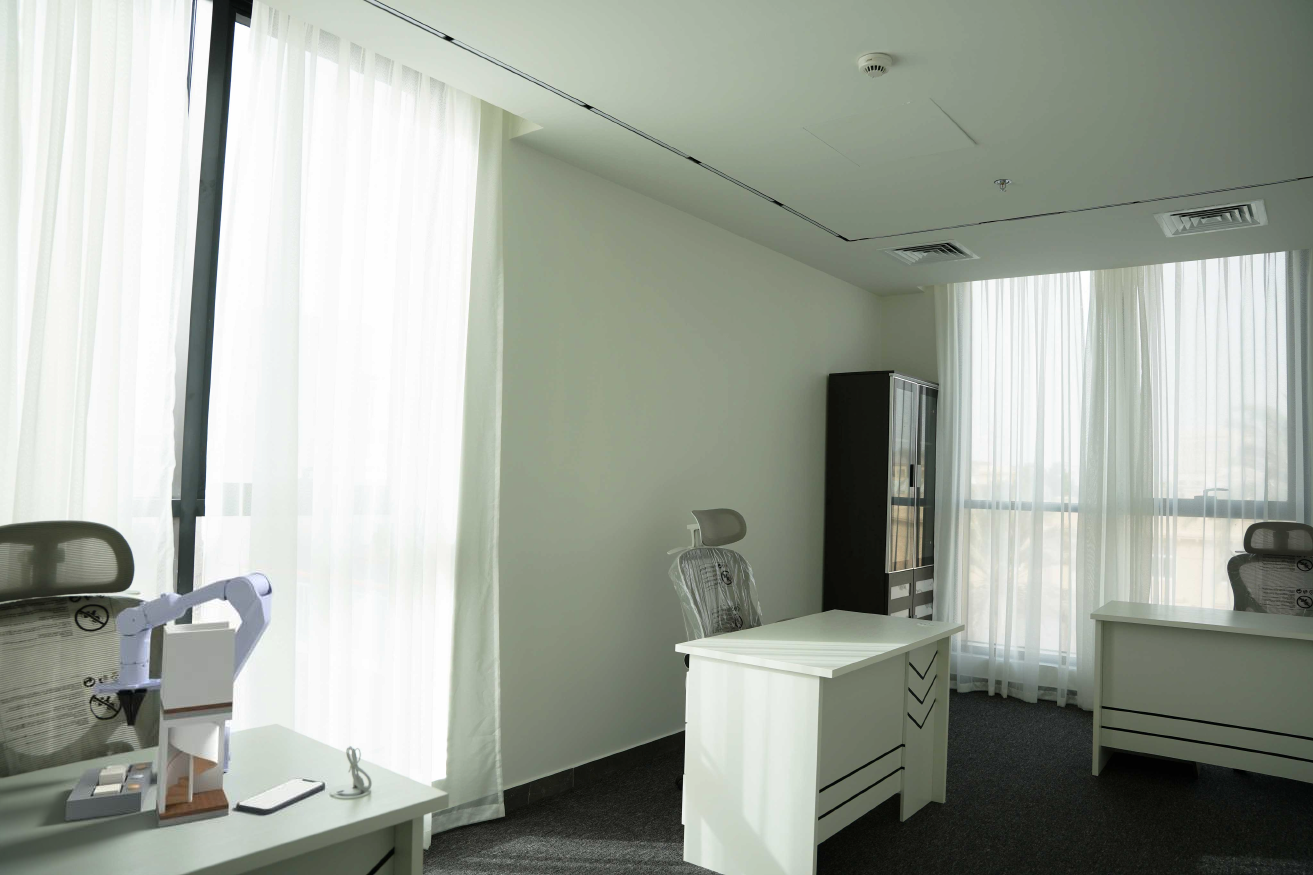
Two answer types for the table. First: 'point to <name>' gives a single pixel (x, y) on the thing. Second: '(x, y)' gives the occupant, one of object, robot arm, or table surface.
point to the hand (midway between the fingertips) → (131, 724)
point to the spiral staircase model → (194, 721)
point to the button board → (127, 801)
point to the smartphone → (281, 796)
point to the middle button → (112, 776)
